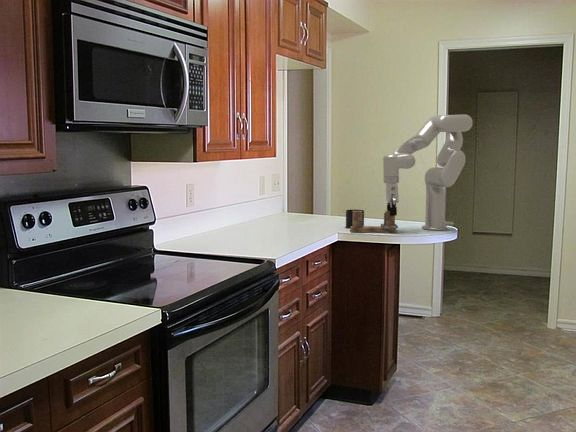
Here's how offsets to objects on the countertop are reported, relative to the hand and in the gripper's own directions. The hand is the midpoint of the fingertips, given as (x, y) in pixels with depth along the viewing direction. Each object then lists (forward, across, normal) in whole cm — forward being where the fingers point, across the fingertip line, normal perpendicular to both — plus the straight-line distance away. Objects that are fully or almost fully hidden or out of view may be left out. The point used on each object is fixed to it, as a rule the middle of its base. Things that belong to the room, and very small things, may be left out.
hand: (391, 214), depth 310 cm
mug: (+9, +15, +17) cm, 24 cm away
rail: (+9, -1, +10) cm, 13 cm away
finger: (+6, 0, +1) cm, 7 cm away
